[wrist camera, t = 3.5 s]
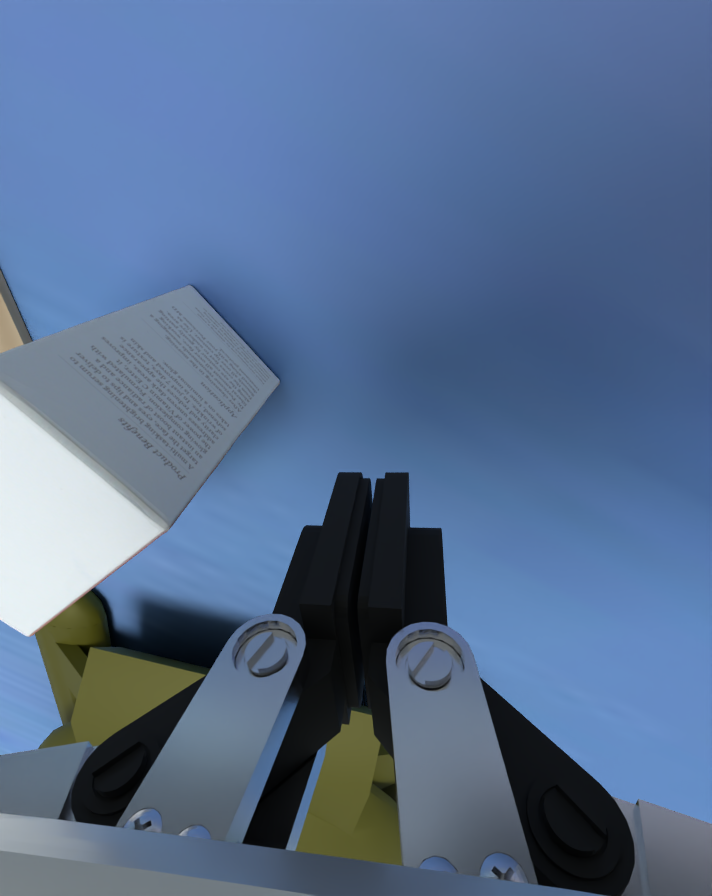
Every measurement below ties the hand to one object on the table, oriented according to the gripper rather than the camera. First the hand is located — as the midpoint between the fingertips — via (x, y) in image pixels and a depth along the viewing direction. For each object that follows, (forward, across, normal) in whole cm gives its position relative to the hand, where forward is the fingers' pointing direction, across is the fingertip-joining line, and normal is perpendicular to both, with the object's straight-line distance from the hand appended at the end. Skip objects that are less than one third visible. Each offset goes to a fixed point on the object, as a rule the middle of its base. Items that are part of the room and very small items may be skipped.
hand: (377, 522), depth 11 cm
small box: (+10, +10, 0) cm, 14 cm away
